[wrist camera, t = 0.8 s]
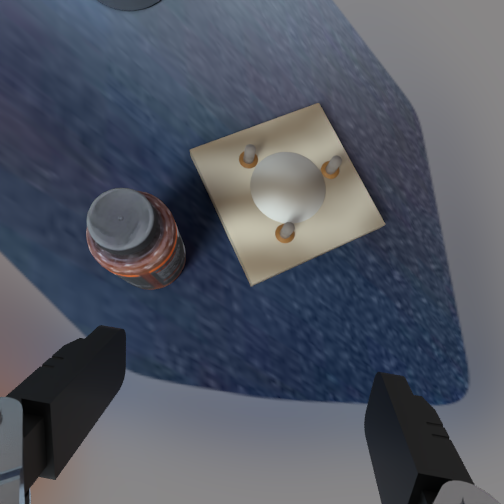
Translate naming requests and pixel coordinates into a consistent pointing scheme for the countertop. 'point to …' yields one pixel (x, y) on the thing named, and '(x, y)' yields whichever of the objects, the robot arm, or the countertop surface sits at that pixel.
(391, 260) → the countertop surface
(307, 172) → the pin board
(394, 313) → the countertop surface
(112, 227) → the supplement bottle
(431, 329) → the countertop surface
